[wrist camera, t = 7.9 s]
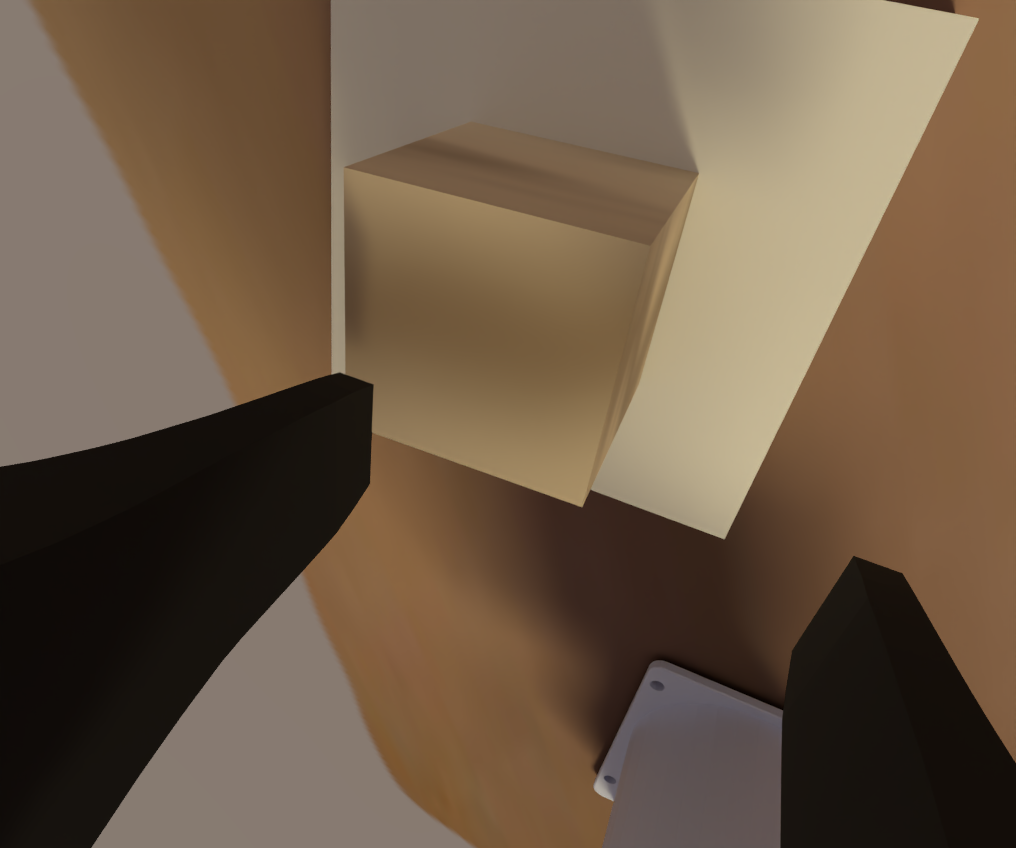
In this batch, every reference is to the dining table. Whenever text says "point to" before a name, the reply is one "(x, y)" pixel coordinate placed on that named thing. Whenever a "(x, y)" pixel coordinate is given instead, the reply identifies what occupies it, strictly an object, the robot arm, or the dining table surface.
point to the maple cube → (507, 296)
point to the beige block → (684, 145)
